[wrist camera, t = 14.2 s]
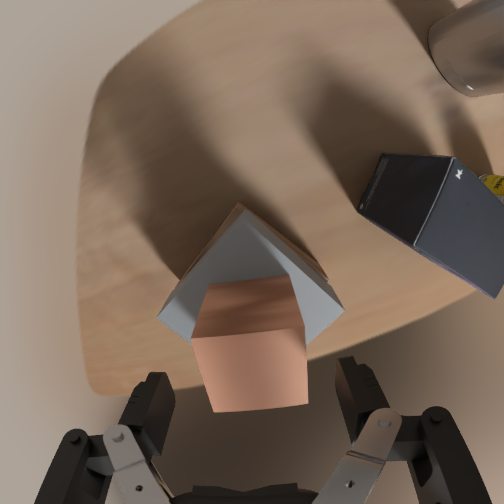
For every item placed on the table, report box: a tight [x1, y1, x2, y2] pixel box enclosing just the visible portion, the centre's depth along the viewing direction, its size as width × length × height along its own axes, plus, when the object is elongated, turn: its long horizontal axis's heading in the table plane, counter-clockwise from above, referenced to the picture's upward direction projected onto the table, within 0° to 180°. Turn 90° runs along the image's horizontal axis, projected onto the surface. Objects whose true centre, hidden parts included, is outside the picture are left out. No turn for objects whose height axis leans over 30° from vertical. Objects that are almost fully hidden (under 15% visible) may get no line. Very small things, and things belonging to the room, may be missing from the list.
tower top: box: [157, 209, 345, 345], centre depth 21 cm, size 9×9×4 cm
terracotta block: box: [191, 275, 308, 412], centre depth 16 cm, size 5×5×6 cm
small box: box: [357, 153, 504, 299], centre depth 19 cm, size 11×6×10 cm, turn 66°
